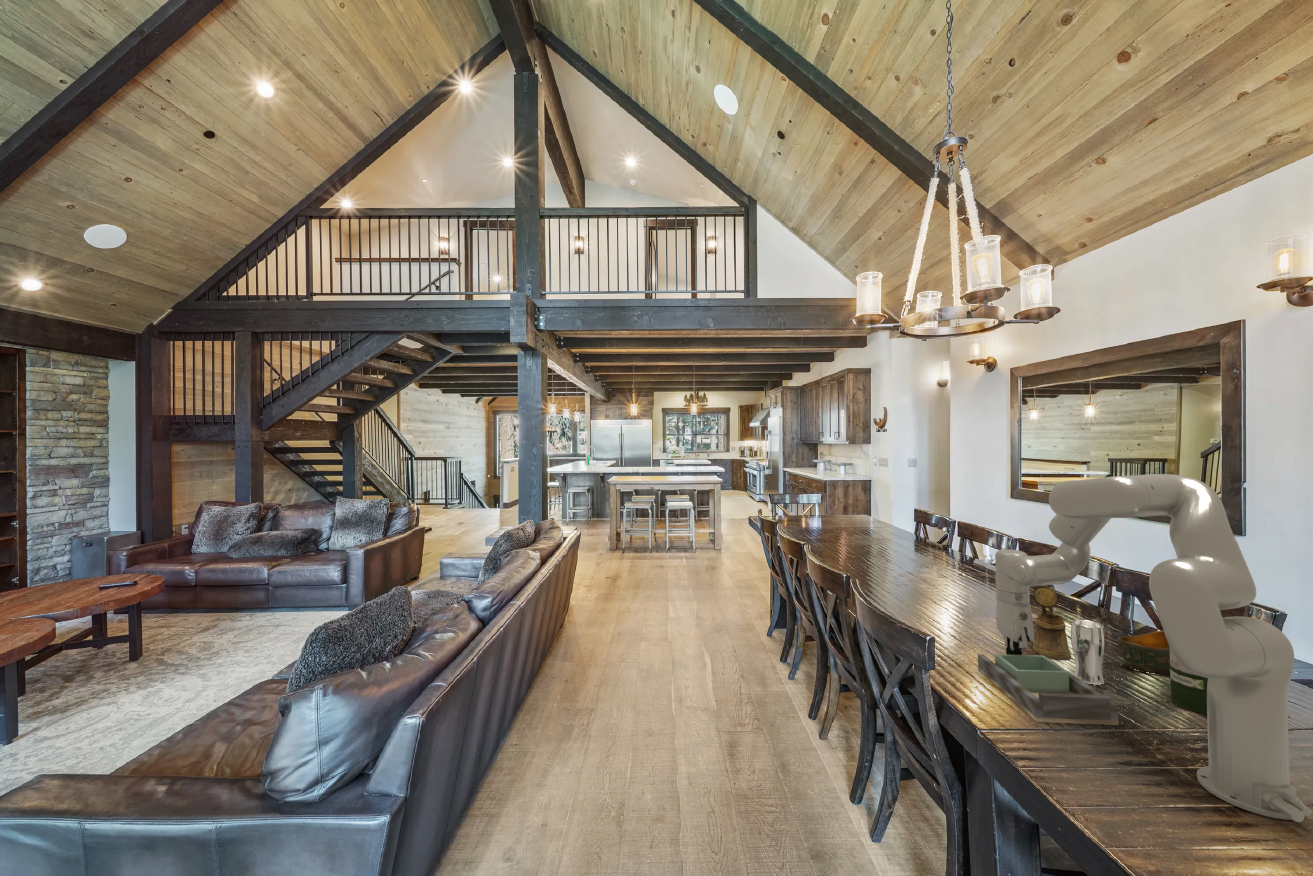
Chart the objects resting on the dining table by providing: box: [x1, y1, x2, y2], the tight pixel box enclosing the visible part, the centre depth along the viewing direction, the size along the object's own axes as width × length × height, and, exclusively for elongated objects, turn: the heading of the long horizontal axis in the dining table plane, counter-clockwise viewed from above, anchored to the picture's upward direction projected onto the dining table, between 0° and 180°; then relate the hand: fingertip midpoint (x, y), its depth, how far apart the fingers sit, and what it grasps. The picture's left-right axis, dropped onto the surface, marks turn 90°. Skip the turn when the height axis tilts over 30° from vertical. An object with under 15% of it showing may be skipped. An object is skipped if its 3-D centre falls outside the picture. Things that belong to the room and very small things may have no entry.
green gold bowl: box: [1117, 630, 1170, 676], centre depth 140 cm, size 13×20×10 cm, turn 60°
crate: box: [994, 653, 1070, 693], centre depth 132 cm, size 10×12×5 cm
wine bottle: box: [1169, 648, 1208, 715], centre depth 121 cm, size 8×8×30 cm
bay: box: [977, 653, 1119, 726], centre depth 128 cm, size 26×17×6 cm, turn 173°
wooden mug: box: [1032, 585, 1072, 661], centre depth 153 cm, size 9×14×18 cm, turn 151°
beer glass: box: [1070, 618, 1106, 686], centre depth 135 cm, size 7×7×15 cm
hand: (1014, 663), depth 139 cm, fingers closed
